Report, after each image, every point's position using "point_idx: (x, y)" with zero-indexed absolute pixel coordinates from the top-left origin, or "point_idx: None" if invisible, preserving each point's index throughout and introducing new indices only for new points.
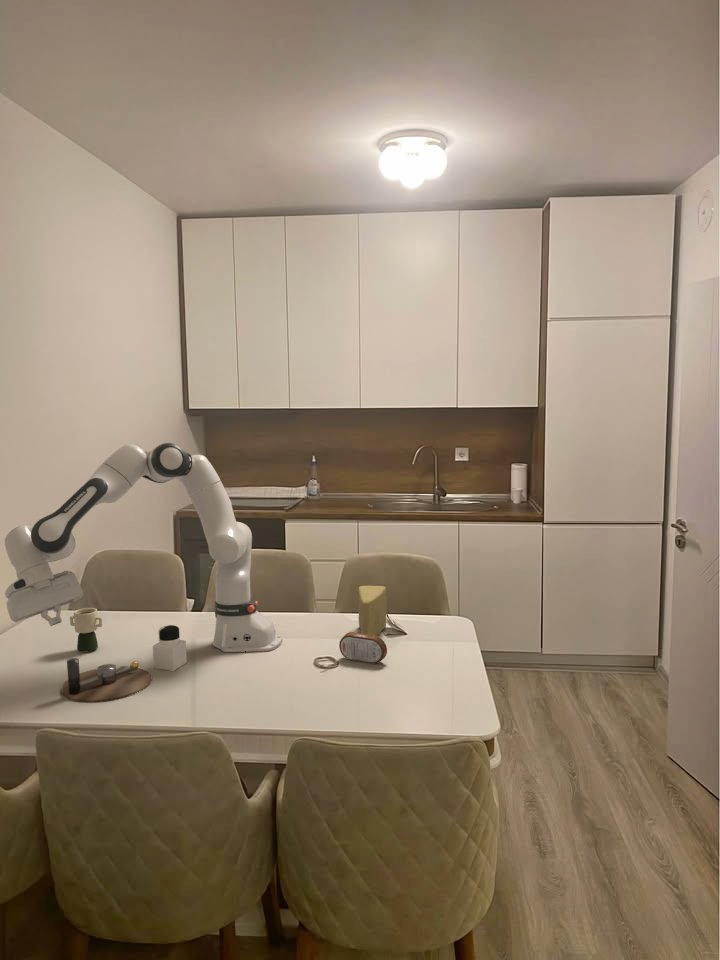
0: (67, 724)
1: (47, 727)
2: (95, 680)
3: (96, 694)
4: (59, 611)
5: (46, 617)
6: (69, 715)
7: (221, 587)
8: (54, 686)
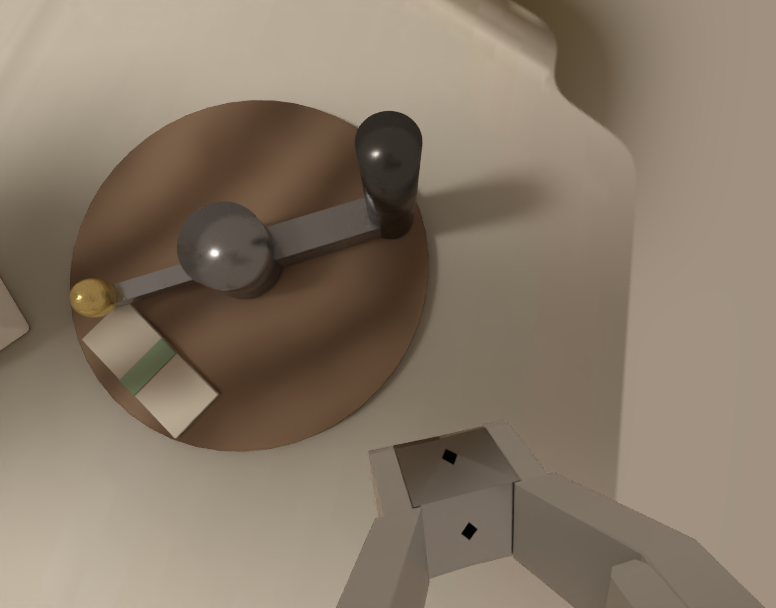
0: (469, 7)
1: (528, 20)
2: (298, 217)
3: (325, 160)
4: (370, 582)
5: (607, 513)
6: (448, 69)
7: None
8: (438, 379)
